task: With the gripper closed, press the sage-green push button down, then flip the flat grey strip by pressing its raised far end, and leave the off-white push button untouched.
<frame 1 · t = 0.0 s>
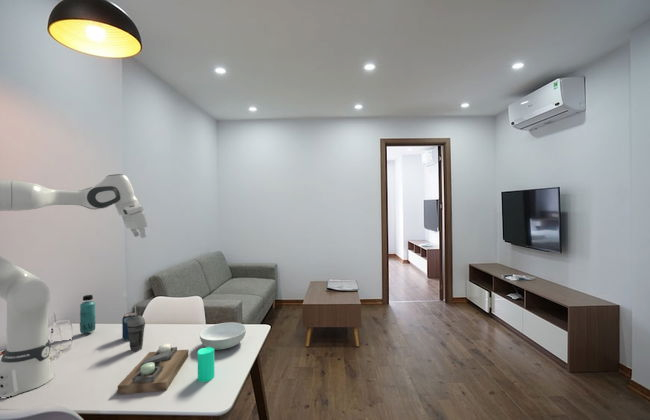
hand: (140, 236, 139), 52 cm above the table, tool tilted 20°, fingers open, 8 cm apart
switch panel: (157, 373, 117), on the table
button sage: (147, 368, 110), point 6 cm above the table, slide at 0.0 cm
beverage bottle: (87, 333, 156), on the table
serving bowl: (223, 345, 142), on the table
soda can: (130, 338, 150), on the table
button offwhite: (165, 348, 125), point 6 cm above the table, slide at 0.0 cm
beverage cup: (136, 349, 138), on the table
candle: (206, 378, 114), on the table
flat grey strip: (156, 358, 117), point 6 cm above the table, hinge at -15.0°
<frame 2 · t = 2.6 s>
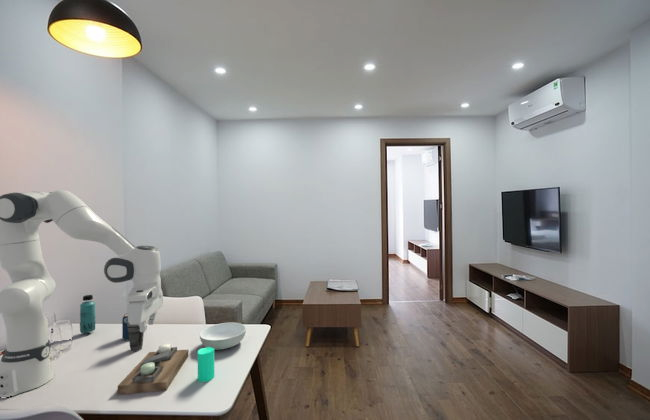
hand: (147, 327, 110), 21 cm above the table, tool pointing down, fingers open, 5 cm apart
nothing on the table moved.
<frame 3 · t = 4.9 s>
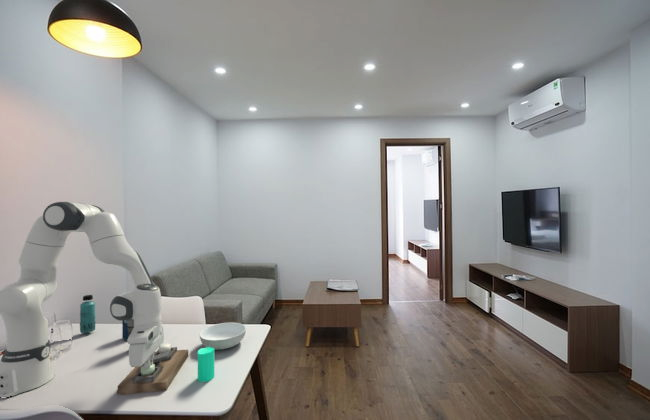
hand: (148, 366, 110), 7 cm above the table, tool pointing down, fingers closed, pressing on button sage
button sage: (147, 369, 110), point 6 cm above the table, slide at 0.4 cm, touching gripper
everything else where it was.
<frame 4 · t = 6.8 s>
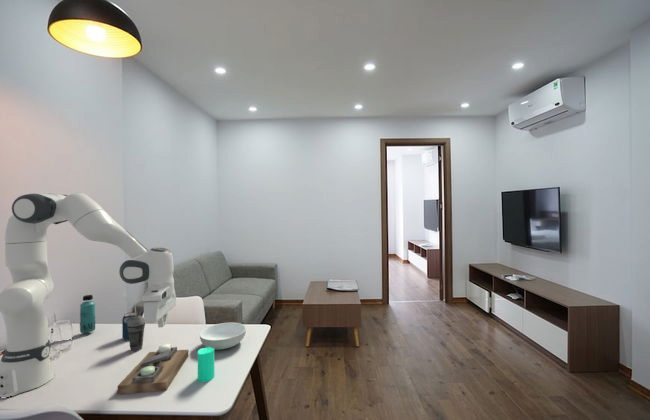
hand: (162, 325, 115), 20 cm above the table, tool pointing down, fingers closed
button sage: (147, 372, 110), point 5 cm above the table, slide at 1.3 cm
everything else where it was.
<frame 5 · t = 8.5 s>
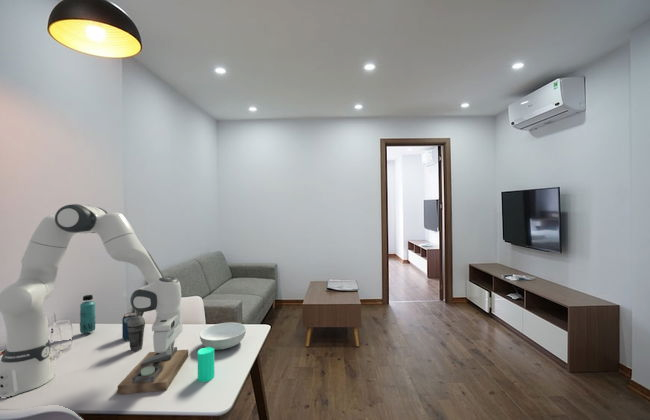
hand: (169, 353, 118), 8 cm above the table, tool pointing down, fingers closed, pressing on flat grey strip
flat grey strip: (156, 358, 117), point 6 cm above the table, hinge at -14.8°, touching gripper
everything else where it was.
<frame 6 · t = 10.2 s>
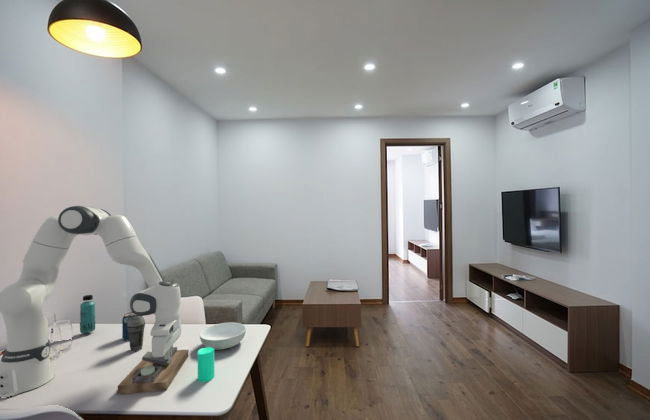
hand: (167, 357, 118), 6 cm above the table, tool pointing down, fingers closed
flat grey strip: (157, 358, 118), point 6 cm above the table, hinge at 18.1°
everything else where it was.
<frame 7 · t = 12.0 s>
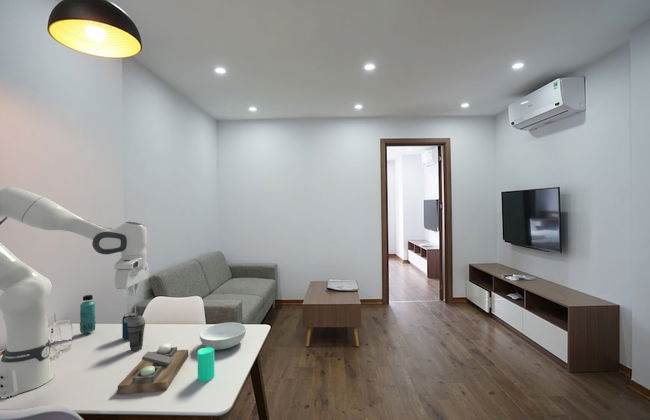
hand: (133, 294, 123), 29 cm above the table, tool pointing down, fingers closed
flat grey strip: (157, 358, 118), point 6 cm above the table, hinge at 18.7°
everything else where it was.
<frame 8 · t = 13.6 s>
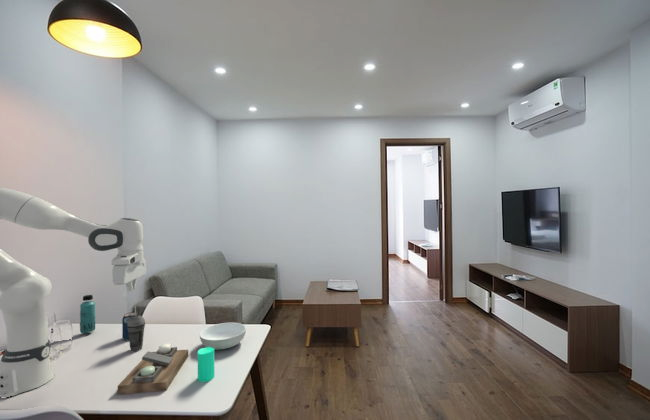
hand: (131, 290, 124), 31 cm above the table, tool pointing down, fingers closed
nothing on the table moved.
at the end: button sage slide at 1.3 cm; flat grey strip at +19° (first picture: -15°); button offwhite slide at 0.0 cm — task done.
